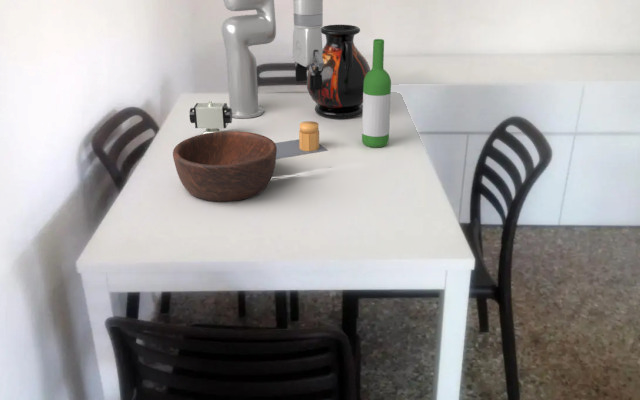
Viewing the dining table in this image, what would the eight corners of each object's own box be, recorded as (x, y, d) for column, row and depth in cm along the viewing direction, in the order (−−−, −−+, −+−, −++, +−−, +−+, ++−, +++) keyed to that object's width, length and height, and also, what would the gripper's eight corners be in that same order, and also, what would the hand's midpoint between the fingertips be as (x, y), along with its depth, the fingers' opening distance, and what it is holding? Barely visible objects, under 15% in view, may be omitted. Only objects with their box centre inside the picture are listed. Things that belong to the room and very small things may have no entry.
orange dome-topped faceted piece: (297, 146, 182) (296, 122, 179) (314, 143, 183) (313, 120, 181) (304, 152, 177) (304, 128, 174) (321, 149, 179) (321, 125, 176)
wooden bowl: (180, 213, 146) (176, 171, 141) (173, 172, 168) (169, 135, 163) (287, 200, 152) (286, 160, 147) (267, 163, 174) (265, 126, 169)
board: (253, 150, 182) (252, 131, 180) (311, 141, 189) (310, 122, 186) (267, 164, 172) (267, 144, 170) (328, 154, 179) (328, 135, 177)
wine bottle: (373, 150, 182) (377, 43, 169) (356, 143, 187) (358, 39, 175) (394, 144, 186) (399, 40, 173) (376, 137, 192) (380, 36, 179)
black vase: (299, 106, 221) (298, 23, 209) (358, 101, 227) (359, 20, 215) (318, 125, 202) (317, 35, 191) (381, 119, 208) (384, 31, 196)
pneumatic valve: (231, 143, 187) (229, 103, 182) (191, 143, 187) (188, 103, 182) (234, 137, 192) (231, 98, 187) (195, 137, 192) (192, 98, 187)
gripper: (282, 15, 171) (283, 78, 179) (308, 27, 157) (308, 95, 164) (308, 14, 174) (308, 76, 181) (335, 25, 160) (334, 91, 167)
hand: (308, 85), depth 173 cm, fingers open, 9 cm apart
